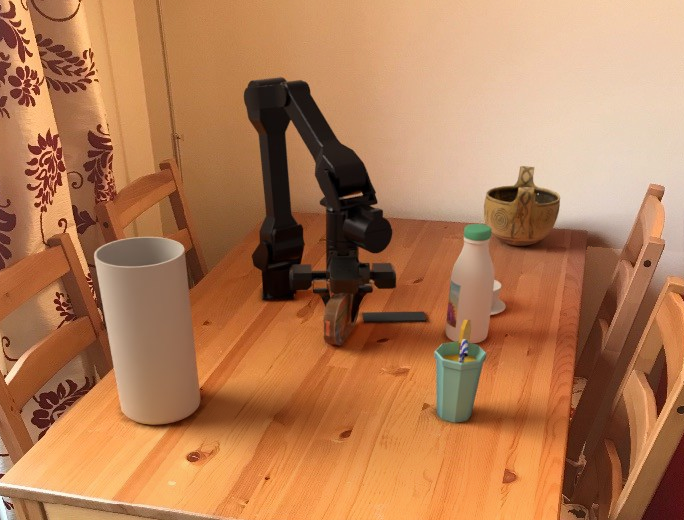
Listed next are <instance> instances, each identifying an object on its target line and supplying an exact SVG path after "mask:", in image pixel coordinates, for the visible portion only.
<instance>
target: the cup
mask: <svg viewBox="0 0 684 520" xmlns="http://www.w3.org/2000/svg"><path fill="white" fill-rule="evenodd" d="M470 335H471V320H464V321H463V324H462V326H461V329H460V336H459V341H456V342H455V341H450V342H442V343H441V344H440V345H439V346H438V347H437V348H436V349H435V350H434V354H433V355H434V359H435V361H436V362H435V363H436V367H435V368H436V369H435V371H436V415H437V416H438V417H439V418H440V419H441V420H442V421H446V422H449V423H453V424H456V423H463V422H467V421H468V420H469V418H470V417H471V416H472V415H473V410H474V405H475V400H476V395H477V391H478V388H479V384H480V383H479V382H480V379H481V375H482V369H483V365H484V362H486V360H487V356H488V353H487V352H486V351H485V349H483V348H482V347H481V346H480V345H478V344H477V343H469V341H470Z"/></svg>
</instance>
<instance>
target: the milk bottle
mask: <svg viewBox="0 0 684 520" xmlns="http://www.w3.org/2000/svg"><path fill="white" fill-rule="evenodd" d="M463 229H464V230H463V239H462V240H463V241H464V243H463V247H462V249H461V251H460V254H459V256H458V257H457V258H456V260H455V262H454V265H453V267H452V270H451V275H450V283H449V289H448V290H449V292H448V299H447V300H448V302H447V310H446V319H445V320H446V322H445V336H446V337H447V338H448V339H449V340H451V341H452V342H456V341H459V336H460V329H461V326H462V324H463V321H464V320H471V335H470V341H469V343H472V344H477V343H478V344H479V343H482V342H484V341H485V340H486V339H487V337H488V335H489V327H490V320H491V315H490V313H491V305H492V297H493V288H494V280H495V266H494V263H493V260H492V257H491V254H490V248H489V246H490V242H491V237H492V233H491V232H492V229H491V227H490V226H488V225H486V224H485V223H483V224H482V223H471V224H467V225H465V227H464V228H463Z"/></svg>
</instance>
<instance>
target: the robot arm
mask: <svg viewBox="0 0 684 520" xmlns="http://www.w3.org/2000/svg"><path fill="white" fill-rule="evenodd" d="M243 102H244V105H245V108H246V113H247V118H248V120H249V122H250V124H251V125H252V127H253V128H254V129H255V131H256V133H257V135H258V143H259V152H260V163H261V164H260V165H261V173H262V184H263V196H264V206H265V218H264V219H263V222H262V224H261V226H260V228H259V243H258V245H257V246H256V248H255V250H254V251H253V253H251V259H252V264H253V267H254V268H256V269H258V270H260V271H261V284H262V285H261V286H262V292H261V293H262V294H261V300H262V301H293V300H295V295H296V294H297V291H309V290H310V288H311V289H312V294H314V295H318V296H319V297H320V299H321V300H322V302H323V304H324V307H325V308H326V305H327V303H328V301H329V300H330V298H331V297H332V296H331V294H333V295H334V294H339V293H350V294H353V299H352V307H351V322H354V319H355V317H356V314H357V311H358V309H359V310H360V306H361V303H362V301H363V300H364V298H365V297H366V296H367V294H372V293H373V292H374V287H376V288H377V289H378V290H393V289H396V288H397V273H396V269H395V266H394V265H393V263H392V262H376V263H375V262H374V263H372V262H371V263H370V262H362V261H360V249H362V250H363V251H366V252H368V253H370V254H374V255H375V254H376V255H377V254H380V253H382V252H383V251H385V250H386V249H387V248H388V247H389V245H390V243H391V241H392V238H393V228H392V224H391V223H390V221H389V219H387V218H385V217H384V209H381V208H379V207H373V206H375V205H378V202H379V201H378V199H377V195H376V194H377V191H376V189H375V187H374V186H373V183H372V180H371V177H370V175H369V173H368V169H367V167H366V164H365V162H363V159H361V157H359V156H358V154H357V153H356V151H354V149H353V148H350V147H348V146H347V145H345V144H343V143H341V141H340V140H339V139H338V137H337V135H336V134H335V132H334V130H333V129H332V127H331V126H330V123H329V122H328V121H327V119H326V117H325V116H324V114H323V112H322V111H321V109H320V107H319V105H318V104H317V102H316V101H315V99H314V97H313V95H312V94H311V87H310V85H309V83H308V82H307V81H305V80H302V79H298V80H289V81H288V80H287V79H286V78H285V77H282V76H278V77H270V78H269V77H268V78H260V79H252V80H250V81H249V82H248V84H247V87H246V88H244V91H243ZM290 123H292V124H293V126H294V128H295V129H296V131H297V133H298V134H299V136H300V138H301V140H302V142H303V143H304V144H305V146H306V149H307V150H308V152H309V153H310V154H311V156H312V159H313V161H314V163H315V165H314V177H315V180H316V181H317V184H318V186H319V187H318V188H319V189H320V191H321V193H322V194H323V197H322V198H321V199H320V200H319V205H320V206H322V207H324V208H325V256H326V257H325V270H312V263H307V264H306V263H305V264H303V263H302V260H303V256H304V251H305V246H306V244H305V240H304V226H303V225H302V223H298V222H297V220H296V218H295V217H294V216H293V213H292V212H293V211H292V201H291V188H290V186H291V185H290V174H289V162H288V149H287V138H286V137H287V136H286V134H287V133H286V132H287V130H288V127H289V126H290ZM359 194H361V195H359ZM355 195H356V196H355ZM350 196H351V197H350ZM345 197H347V198H345ZM370 264H371V265H370ZM373 285H374V287H373Z"/></svg>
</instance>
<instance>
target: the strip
mask: <svg viewBox="0 0 684 520" xmlns="http://www.w3.org/2000/svg"><path fill="white" fill-rule="evenodd" d="M361 315H362V321H363V323H364V324H368V323H369V324H375V323H377V324H379V323H426V322H427V318H426V315H425V311H378V312H376V311H374V312H373V311H372V312H371V311H370V312H362V314H361Z"/></svg>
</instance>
